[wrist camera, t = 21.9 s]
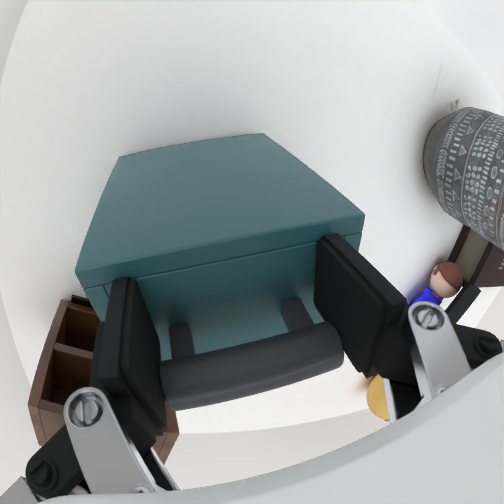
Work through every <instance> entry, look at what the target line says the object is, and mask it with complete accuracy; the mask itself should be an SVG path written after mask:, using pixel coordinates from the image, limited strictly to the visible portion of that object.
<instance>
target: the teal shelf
mask: <svg viewBox="0 0 504 504" xmlns="http://www.w3.org/2000/svg"><path fill="white" fill-rule="evenodd" d="M364 219H365V214H364V213H363V212H362V211H361V210H360V209H359V208H358V207H356V206H355V205H354V204H353V203H352V202H351V201H349V200H348V199H347V198H346V197H345V196H344V195H342V194H341V193H340V192H339V191H338V190H336V189H335V188H334V187H333V186H332V185H330V184H329V183H328V182H327V181H325V180H324V179H323V178H322V177H321V176H319V175H318V174H317V173H315V172H314V171H313V170H312V169H310V168H309V167H308V166H307V165H305V164H304V163H303V162H301V161H300V160H299V159H297V158H296V157H295V156H293V155H292V154H291V153H289V152H288V151H287V150H285V149H284V148H283V147H281V146H280V145H279V144H277V143H276V142H275V141H273V140H272V139H270V138H269V137H268V136H266V135H265V134H263V133H260V134H250V135H241V136H232V137H224V138H217V139H210V140H203V141H197V142H190V143H184V144H179V145H173V146H168V147H163V148H158V149H153V150H148V151H143V152H139V153H134V154H130V155H126V156H121V157H119V159H118V161H117V163H116V165H115V167H114V169H113V171H112V173H111V175H110V178H109V180H108V182H107V184H106V187H105V189H104V191H103V194H102V196H101V198H100V201H99V203H98V206H97V208H96V211H95V213H94V216H93V218H92V221H91V224H90V226H89V229H88V232H87V235H86V237H85V240H84V243H83V246H82V249H81V252H80V255H79V258H78V261H77V265H76V268H75V273H76V275H77V277H78V279H79V281H80V283H81V285H82V287H83V288H84V292H85V294H86V296H87V297H88V299H89V301H90V303H91V305H92V307H93V308H94V310H95V312H96V314H97V315H98V317H99V319H100V321H101V322H102V321H105V317H106V311H107V306H108V300H109V295H110V290H111V286H112V281H113V280H114V279H119V278H124V277H128V276H129V277H130V279H131V280H136V281H137V283H138V286H139V288H140V291H141V294H142V296H143V299H144V302H145V304H146V307H147V309H148V312H149V314H150V317H151V319H152V322H153V324H154V327H155V329H156V331H157V334H158V336H159V340H160V347H161V362H160V363H159V379H160V384H161V388H162V392H163V395H164V398H165V401H166V403H167V405H168V406H169V408H170V409H171V410H172V411H179V410H185V409H191V408H196V407H202V406H207V405H212V404H216V403H221V402H226V401H230V400H234V399H238V398H243V397H247V396H250V395H254V394H258V393H262V392H266V391H269V390H273V389H276V388H280V387H283V386H286V385H290V384H293V383H296V382H299V381H302V380H305V379H308V378H311V377H314V376H317V375H320V374H323V373H326V372H328V371H331V370H334V369H337V368H339V367H340V366H341V365H342V364H343V361H344V349H343V344H342V341H341V338H340V335H339V333H338V331H337V330H336V328H335V327H334V326H333V324H331V323H330V322H327V321H324V320H323V318H322V317H321V315H320V314H319V312H318V311H317V309H316V307H315V305H314V301H313V297H314V282H315V266H316V247H317V242H318V241H320V240H321V237H322V236H325V235H330V234H335V233H338V234H339V235H340V236H341V237H343V238H344V239H345V240H346V241H347V242H348V243H349V244H350V245H351V246H352V247H353V248H354V249H356V250H357V251H358V250H359V245H360V241H361V236H362V232H361V231H362V229H363V224H364Z"/></svg>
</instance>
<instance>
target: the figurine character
mask: <svg viewBox="0 0 504 504" xmlns="http://www.w3.org/2000/svg"><path fill="white" fill-rule="evenodd" d="M462 282H463V276H462V272H461V270H460V268H459V267H458V266H457V265H456V264H454V263H452V262H442V263H440V264H438V265H437V266H436V267H435V268H434V269H433V271H432V273H431V278H430V283H431V287H432V289H433V290H432V289H430V288H426V290H425V291H424V292H423V293H422V294H421V295H420V297H419V298H418V299H416V300H415V301H414V302H413V303H412V304H414V303H416V302H420V301H428V302H432V303H435V304H436V305H438V306H439V305H440V304H441V303H442V299H443V298H449V297H452V296H454V295H455V294H456V293H457V292H458V291H459V290H460V288H461V286H462ZM480 292H481V290H480V289H479V288H477V287H476V286H474V285H473V284H471V283H469V282H468V281H467V283H466V284H465V285H464V287H463V288H462V289H461V291H460V292H459V293H458V295H457V296H456V297H455V299H454V300H453V301H452V303H451V304H450V305H449V306H448V308H447V309H446V310H445V312H446V314H447V315H448V317H449V319H450V322H451V323H453V324H456V323H457V322H458V320H459V319H460V318H461V317H462V315H463V314H464V313H465V312H466V310H467V309H468V308H469V307H470V305H471V304H472V303H473V301H474V300H475V299H476V297H477V296H478V295H479V293H480Z"/></svg>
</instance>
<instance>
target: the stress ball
mask: <svg viewBox="0 0 504 504" xmlns="http://www.w3.org/2000/svg"><path fill="white" fill-rule="evenodd" d="M367 403H368V406H369V408H370V410H371V411H372V412H373V413H374V414H375V415H376V416H377V417H379V418H381V419H385V421H389V414H388V407H387V400H386V394H385V388H384V383H383V378H381V376H380V375H379V374H377V375H376V376H375V377H374V378H373V380H372V381H371V383H370V385H369V387H368V391H367Z"/></svg>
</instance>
